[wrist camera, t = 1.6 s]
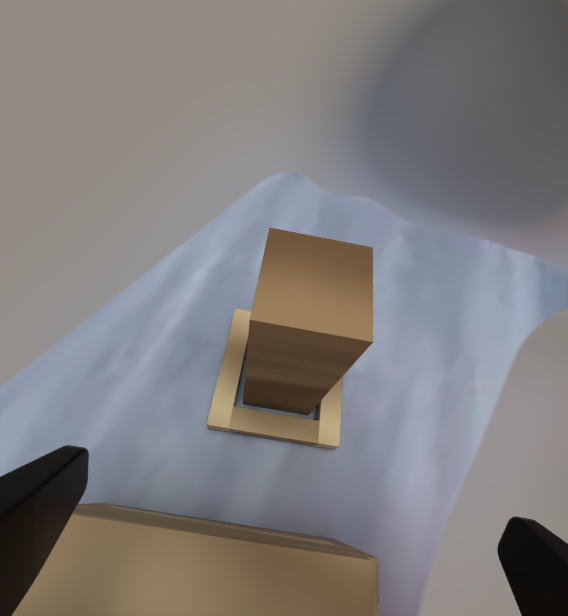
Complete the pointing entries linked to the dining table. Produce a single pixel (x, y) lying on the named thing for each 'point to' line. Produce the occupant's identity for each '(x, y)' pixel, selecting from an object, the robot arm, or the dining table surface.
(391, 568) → the dining table surface
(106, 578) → the lid
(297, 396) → the brown block
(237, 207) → the dining table surface
